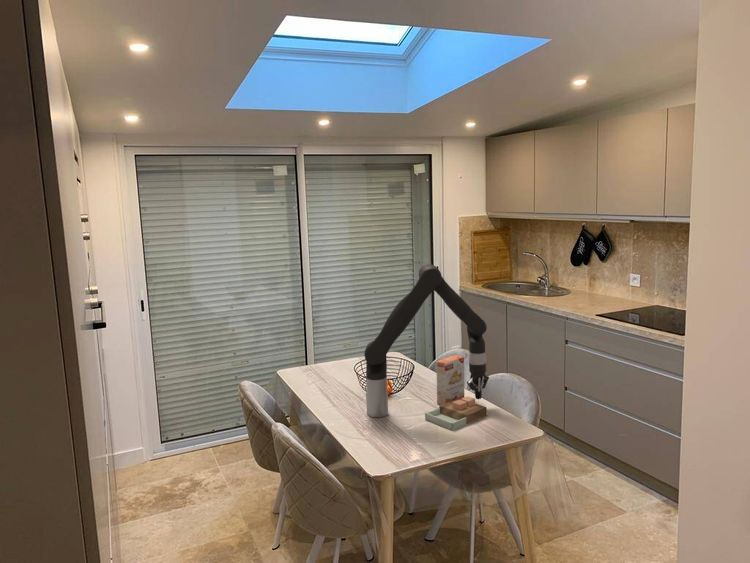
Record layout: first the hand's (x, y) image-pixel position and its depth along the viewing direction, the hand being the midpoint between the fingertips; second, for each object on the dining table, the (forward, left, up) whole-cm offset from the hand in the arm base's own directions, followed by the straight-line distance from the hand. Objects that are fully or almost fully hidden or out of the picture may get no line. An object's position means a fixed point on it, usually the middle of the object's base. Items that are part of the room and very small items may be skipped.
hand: (478, 398), depth 246 cm
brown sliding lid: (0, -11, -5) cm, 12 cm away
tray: (0, -22, -5) cm, 22 cm away
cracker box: (-15, -2, -5) cm, 16 cm away
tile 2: (0, -7, -1) cm, 7 cm away
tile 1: (0, -13, -1) cm, 13 cm away
